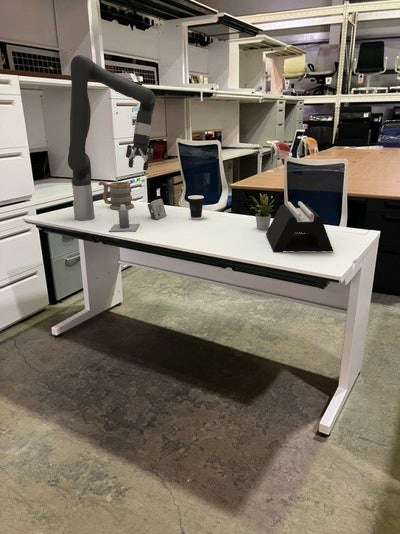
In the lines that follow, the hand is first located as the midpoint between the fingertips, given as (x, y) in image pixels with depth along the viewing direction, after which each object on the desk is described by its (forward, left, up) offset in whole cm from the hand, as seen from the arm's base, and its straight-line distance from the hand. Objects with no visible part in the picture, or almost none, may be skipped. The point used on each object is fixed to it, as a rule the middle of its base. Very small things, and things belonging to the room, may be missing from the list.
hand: (137, 169), depth 199 cm
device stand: (+69, -42, -26) cm, 85 cm away
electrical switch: (+7, +6, -26) cm, 27 cm away
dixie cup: (+27, +3, -25) cm, 38 cm away
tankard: (-19, +32, -26) cm, 45 cm away
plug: (-6, -15, -25) cm, 29 cm away
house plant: (+57, -17, -25) cm, 65 cm away
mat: (-6, -15, -25) cm, 30 cm away
